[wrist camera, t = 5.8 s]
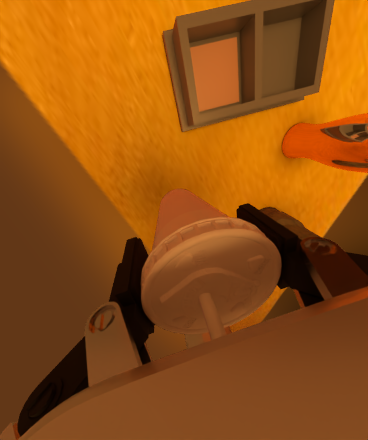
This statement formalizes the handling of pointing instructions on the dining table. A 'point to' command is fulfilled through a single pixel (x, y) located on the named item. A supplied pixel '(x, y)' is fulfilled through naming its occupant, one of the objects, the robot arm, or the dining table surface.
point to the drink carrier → (246, 58)
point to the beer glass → (331, 143)
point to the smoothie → (205, 268)
